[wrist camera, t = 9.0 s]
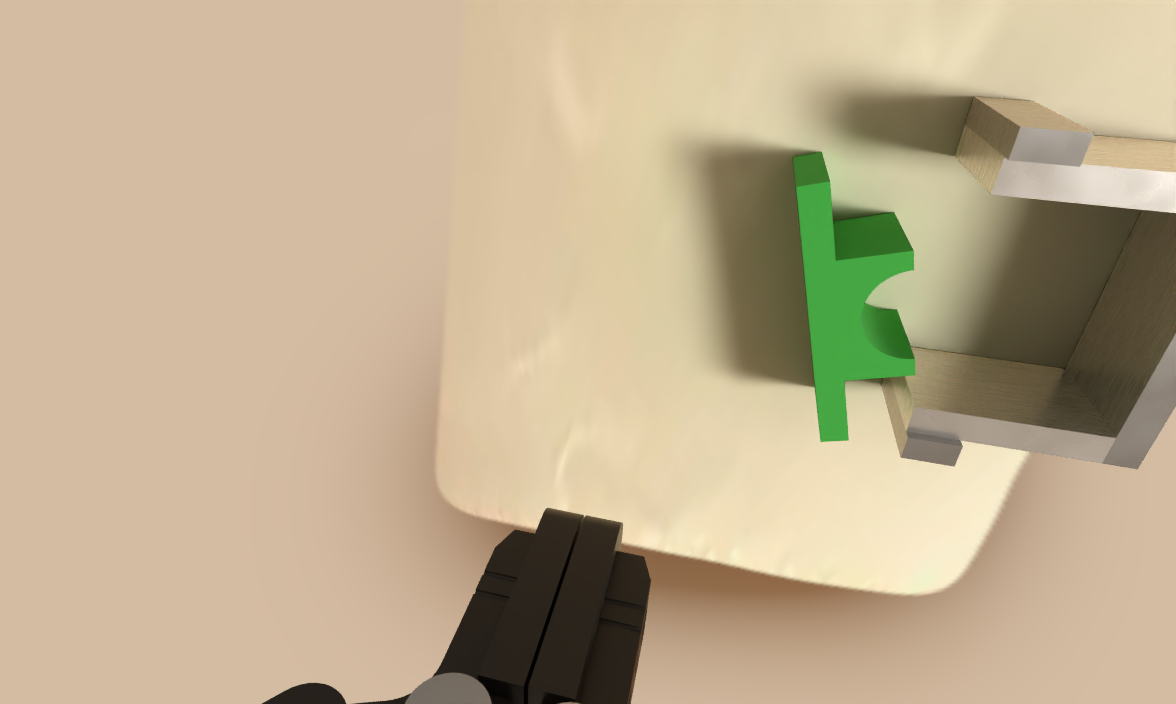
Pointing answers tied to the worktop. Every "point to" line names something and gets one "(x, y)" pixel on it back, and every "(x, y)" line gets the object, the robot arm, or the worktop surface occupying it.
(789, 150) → the worktop surface
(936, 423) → the grey u-shaped bracket
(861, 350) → the pipe clamp
